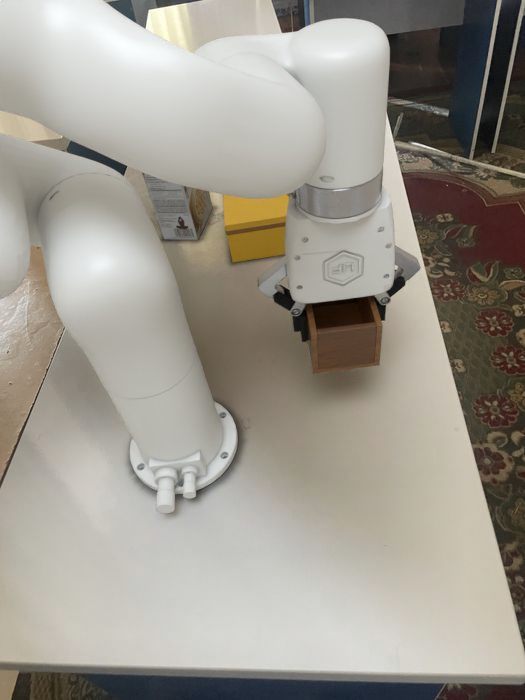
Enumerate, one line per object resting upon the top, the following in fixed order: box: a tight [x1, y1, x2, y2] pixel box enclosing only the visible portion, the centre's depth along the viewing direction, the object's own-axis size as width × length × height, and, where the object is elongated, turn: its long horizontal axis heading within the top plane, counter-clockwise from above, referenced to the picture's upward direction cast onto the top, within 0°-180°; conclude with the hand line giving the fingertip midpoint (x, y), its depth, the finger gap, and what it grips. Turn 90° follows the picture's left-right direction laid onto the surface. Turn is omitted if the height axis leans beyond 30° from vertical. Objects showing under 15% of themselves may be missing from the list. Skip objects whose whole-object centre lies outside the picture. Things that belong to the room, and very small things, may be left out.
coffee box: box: [141, 172, 213, 241], centre depth 90 cm, size 9×6×16 cm
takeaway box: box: [222, 194, 289, 263], centre depth 89 cm, size 12×10×7 cm
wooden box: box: [305, 295, 384, 374], centre depth 61 cm, size 10×7×6 cm
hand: (338, 327), depth 62 cm, fingers closed on wooden box, 7 cm apart
